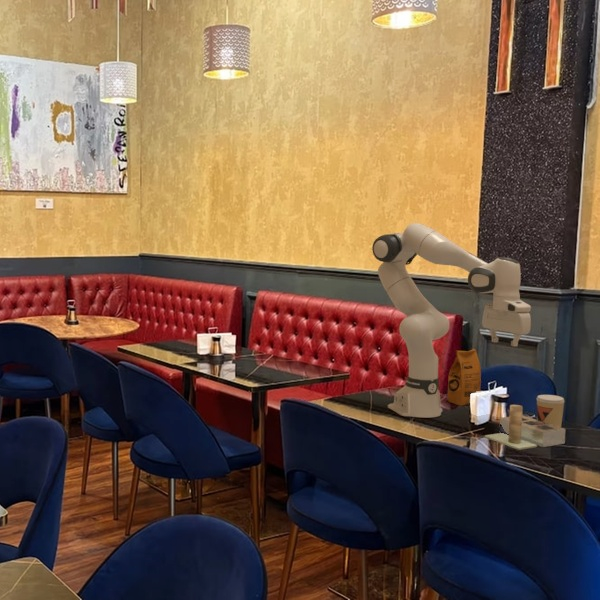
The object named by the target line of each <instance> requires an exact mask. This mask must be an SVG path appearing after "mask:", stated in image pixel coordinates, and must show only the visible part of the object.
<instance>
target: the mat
mask: <svg viewBox="0 0 600 600" xmlns="http://www.w3.org/2000/svg"><path fill="white" fill-rule="evenodd" d="M508 437H509V435H507V434H504V433H501V432H499V433H493V434H492V433H491V434H485V435H484V438H485V439H488V440H491V441H494V442H496V443H499V444H502V445H504V446H506V447H507V446H508V447H509V448H512V449H514V450H518V451H522V450H527V449H528V450H529V449H533V448H537V447H538V445H535V444H532V443H529V442H527V441H524V440H521V443H510V442H508Z"/></svg>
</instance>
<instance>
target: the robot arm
mask: <svg viewBox="0 0 600 600" xmlns="http://www.w3.org/2000/svg"><path fill="white" fill-rule="evenodd" d="M372 243H373V244H372V249H371V250H372V253H373V256H374V258H376V260H378V261H379V262H382V263H381V264H380V265H379V266H378V268H377V274H378V278H379V280H380V282H381V285H382V287H383V288H384V291H386V293H387V296H388V297H389V299H390V300H391V302H392V303H393V306H394V307H395V308H396V309H397V310H398V311H399V312H401V313H402V314H404V315H405V316H406V317H404V319H402V321H401V322H400V324H399V327H398V328H399V330H398V331H399V335H400V337H401V338H402V339H403V341H404V342H405V345H406V348H407V349H406V350H407V353H408V376H405V377H404V379H403V380H404V381H405V385H403V387H401V388H400V389H398V390H397V391H396V392H395V393H394V396H393V397H394V398H393V403H389V404H387V408H388V409H390V410H391V411H394V412H396V414H398V415H400V416H403V417H411V418H412V417H413V418H437V417H440V416H441V415H442V412H443V408H442V407H441V406H442V405H441V393H440V390H439V387H440V378H439V356H438V355H437V354H436V352H435V349H434V345H433V341H435V340H439V339H441V338H442V337H444V336H446V334H447V333H448V332H449V330H450V320H449V318H448V317H447V316H446V315H445V314H444V313H442V312H441V311H439V310H438V309H437V308H436V307H435V306H433V304H432V303H431V302H429V300H428V299H427V298H426V297H425V296H424V295H423V294H422V293H421V291H420V289H419V288H418V286H417V285H416V283H415V281H414V279H413V278H412V277H411V275H410V274H409V272H408V270H407V268H406V267H407V266H408V265H410V264H411V263H412V262H413V260H414V259H415V258H416V257H418V256H419V257H420V258H423V260H425V261H427V262H430V263H432V264H434V265H441V266H442V265H443V266H452V267H457V268H460V269H462V270H464V271H467V272H468V275H467V284H468V287H469V289H470V290H471V291H472V292H475V293H476V294H477V293H478V294H493V299H492V302H487V303H485V305H484V310H483V313H482V318H481V319H482V320H481V326H482V327H483V329H488V330H489V334H490V337H491V342H492V343H499V337H497V336H498V335H497V332H498V331H500V332H505V333H511V334H513V340H510V346H511V347H518V346H519V345H518V344H519V341H520V339H521V338H522V335H528V334H529V333H530V332H531V328H532V327H531V326H532V320H531V318H532V317H531V313H529V312H531V309H532V307H531V305H530V304H529V303H527V302H524V301H523V300H522V299H521V298H520V297H521V294H520V286H521V279H522V278H521V272H522V271H521V265H520V262H519V260H517V259H515V258H512V257H504V256H499V257H496V259H495V260H493V261H491V262H487V261H486V260H483V259H482V258H480V257H478V256H477V255H475V254H474V253H473V254H472V253H471V252H469V251H468V250H465V249H464V248H462V247H460V245H457V244H456V243H454V242H453V241H451V240H450V239H449V238H448V237H446V236H444V235H443V234H441V233H440V232H438V231H436V229H434V228H431V227H429V226H427V225H426V224H425V225H424V224H422V223H419V222H413V223H410V224H409V225H408V226H406V228H405V229H404V230H403V232H394V233H389V234H382V235H380V236H378V237H377V238H376V239H375V240H374V241H373V242H372ZM406 265H407V266H406Z"/></svg>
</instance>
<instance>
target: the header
mask: <svg viewBox="0 0 600 600" xmlns="http://www.w3.org/2000/svg"><path fill="white" fill-rule="evenodd" d="M509 417H510V416H505V417H500V418H499V425H500V424H501V425H502V427H503V429H504V431H505V432H506V433H507V434H509ZM521 440H524V441H527V442H529V443H532V444H535V445H537V447H540V448H547V447H553V446H559V445H564V444H565V442H566V428H564V427H562V426H561V427H558V426H555V425H551V424H548V423H545V422H542V421H539V420H537V418H536V419H535V418H532V417H529V416H527V415H526V416H525V415H523V414H522V430H521Z"/></svg>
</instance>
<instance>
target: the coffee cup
mask: <svg viewBox="0 0 600 600" xmlns="http://www.w3.org/2000/svg"><path fill="white" fill-rule="evenodd" d="M564 405H565V399H564V397H563V396H559V395H555V394H540V395H537V397H536V420H539V421H542V422H545V423H548V424H551V425H555V426H558V427H561V428H562V421H563V415H564V414H563V413H564Z"/></svg>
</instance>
